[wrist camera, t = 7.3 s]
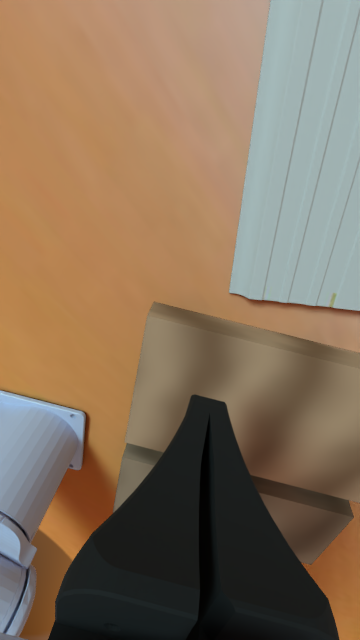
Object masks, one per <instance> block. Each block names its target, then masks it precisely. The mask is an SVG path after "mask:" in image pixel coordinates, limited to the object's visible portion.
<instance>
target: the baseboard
mask: <svg viewBox="0 0 360 640" xmlns="http://www.w3.org/2000/svg"><path fill="white" fill-rule="evenodd" d="M229 293H235V294H240V295H242V296H245V297H247V298H248V299H255V300H270V301H279V302H283V303H288V302H289V303H298V304H306V305H311V306H326V307H333V308H338V309H348V310H357V311H360V0H271V1H270V8H269V15H268V22H267V29H266V36H265V43H264V50H263V57H262V64H261V71H260V78H259V85H258V92H257V99H256V106H255V113H254V120H253V127H252V134H251V141H250V148H249V155H248V162H247V169H246V176H245V183H244V190H243V197H242V204H241V211H240V218H239V225H238V232H237V239H236V246H235V253H234V260H233V267H232V274H231V282H230V289H229Z"/></svg>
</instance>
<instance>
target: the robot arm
mask: <svg viewBox="0 0 360 640" xmlns="http://www.w3.org/2000/svg"><path fill="white" fill-rule="evenodd" d="M85 422H86V415H85V413H84V412H82V411H79V410H75V409H71V408H67V407H63V406H59V405H55V404H52V403H48V402H44V401H40V400H36V399H32V398H28V397H24V396H20V395H17V394H13V393H9V392H5V391H1V390H0V640H27V639H23V638H20V637H19V635H20V633H21V631H22V629H23V627H24V625H25V623H26V621H27V618H28V616H29V613H30V610H31V608H32V604H33V601H34V597H35V591H36V570H35V568H34V566H32V565H31V561H32V559H33V557H34V555H35V553H36V551H37V548H35V547H34V546H33V545H32V544H31V542H32V540H33V538H34V535H35V533H36V532H37V529H38V527H39V525H40V523H41V521H42V519H43V517H44V515H45V513H46V511H47V509H48V507H49V505H50V503H51V501H52V499H53V497H54V495H55V493H56V491H57V489H58V487H59V485H60V483H61V481H62V479H63V477H64V475H65V473H66V471H67V469H68V468H70V469H74V470H80V469H81V467H82V462H83V448H84V435H85ZM55 604H56V605H55V622H54V625H53V628H52V631H51V633H50V636H49V639H48V640H339V636H338V631H337V627H336V624H335V620H334V617H333V613H332V610H331V607H330V604H329V600H328V598H327V597H326V596H325V594H324V593H323V592H322V590H321V589H320V588H319V587H318V585H317V584H316V583H315V581H314V580H313V579H312V577H311V576H310V575H309V573H308V572H307V571H306V569H305V568H304V566H303V565H302V564H301V562H300V561H299V559H298V558H297V556H296V555H295V553H294V552H293V550H292V549H291V547H290V546H289V544H288V543H287V541H286V539H285V538H284V536H283V535H282V533H281V531H280V530H279V528H278V526H277V525H276V523H275V522H274V520H273V518H272V517H271V515H270V513H269V511H268V509H267V508H266V506H265V504H264V502H263V500H262V498H261V496H260V494H259V492H258V490H257V488H256V486H255V484H254V482H253V480H252V478H251V475H250V473H249V471H248V468H247V466H246V464H245V461H244V459H243V456H242V454H241V451H240V448H239V445H238V443H237V440H236V437H235V434H234V431H233V428H232V424H231V421H230V417H229V413H228V409H227V405H226V403H225V402H223V401H219V400H215V399H211V398H207V397H203V396H199V395H195V394H194V395H192V396H191V398H190V401H189V404H188V407H187V411H186V414H185V417H184V419H183V421H182V423H181V425H180V427H179V428H178V430H177V432H176V434H175V436H174V437H173V439H172V441H171V442H170V444H169V445H168V447H167V449H166V450H165V452H164V453H163V455H162V456H161V457H160V459H159V460H158V462H157V463H156V464H155V466H154V467H153V468H152V470H151V471H150V472H149V474H148V475H147V476H146V477H145V479H144V480H143V481H142V482H141V484H140V485H139V486H138V487H137V488H136V489H135V491H134V492H133V493H132V494H131V495H130V496H129V497H128V498H127V499H126V500H125V501H124V502H123V504H122V505H121V506H120V507H119V508H118V509H117V510H116V511H115V512H114V513H113V514H112V515H111V516H110V517H109V518H108V519H107V520H106V521H105V522H104V523H103V524H102V525H101V526H99V527H98V528H97V529H96V530H95V531H94V532H93V533H92V534H91V536H90V537H89V539H88V540H87V542H86V543H85V544H84V546H83V547H82V548H81V550H80V551H79V553H78V554H77V556H76V557H75V559H74V560H73V562H72V564H71V565H70V567H69V568H68V570H67V572H66V574H65V576H64V579H63V581H62V584H61V587H60V590H59V593H58V595H57V598H56V601H55Z"/></svg>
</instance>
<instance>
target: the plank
mask: <svg viewBox="0 0 360 640" xmlns="http://www.w3.org/2000/svg"><path fill="white" fill-rule="evenodd" d="M194 394H195V395H199V396H203V397H207V398H211V399H215V400H219V401H223V402H225V403H226V405H227V409H228V413H229V417H230V421H231V424H232V428H233V431H234V434H235V437H236V440H237V443H238V445H239V448H240V451H241V454H242V456H243V459H244V461H245V464H246V466H247V468H248V471H249V473H250V475H253V476H257V477H261V478H265V479H269V480H272V481H276V482H280V483H284V484H288V485H292V486H296V487H299V488H303V489H307V490H311V491H315V492H319V493H323V494H327V495H330V496H334V497H338V498H342V499H346V500H350V501H354V502H357V503H360V353H357V352H353V351H349V350H345V349H341V348H337V347H333V346H329V345H325V344H321V343H317V342H313V341H309V340H305V339H301V338H297V337H293V336H289V335H285V334H281V333H277V332H273V331H269V330H265V329H261V328H257V327H253V326H249V325H245V324H241V323H237V322H233V321H229V320H225V319H221V318H217V317H213V316H209V315H205V314H201V313H197V312H193V311H189V310H185V309H181V308H177V307H173V306H169V305H165V304H161V303H157V302H154V303H153V305H152V307H151V309H150V311H149V313H148V315H147V320H146V326H145V331H144V337H143V343H142V348H141V354H140V359H139V365H138V371H137V376H136V382H135V387H134V393H133V399H132V404H131V410H130V415H129V421H128V427H127V432H126V438H125V443H129V444H133V445H137V446H141V447H145V448H149V449H152V450H156V451H160V452H165V450H166V449H167V447H168V445H169V444H170V442H171V441H172V439H173V437H174V436H175V434H176V432H177V430H178V428H179V427H180V425H181V423H182V421H183V419H184V417H185V414H186V411H187V407H188V404H189V401H190V398H191V396H192V395H194Z"/></svg>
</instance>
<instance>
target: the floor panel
mask: <svg viewBox="0 0 360 640" xmlns="http://www.w3.org/2000/svg"><path fill="white" fill-rule="evenodd" d="M163 453H164V452H160V451H156V450H152V449H149V448H145V447H141V446H137V445H133V444H129V443H127V445H126V448H125V451H124V454H123V457H122V462H121V468H120V474H119V480H118V485H117V491H116V497H115V502H114V508H113V513H114V512H115V511H116V510H117V509H118V508H119V507H120V506H121V505H122V504H123V502H124V501H125V500H126V499H127V498H128V497H129V496H130V495H131V494H132V493H133V492H134V491H135V489H136V488H137V487H138V486H139V485H140V484H141V482H142V481H143V480H144V479H145V477H146V476H147V475H148V474H149V472H150V471H151V470H152V468H153V467H154V466H155V464H156V463H157V462H158V460H159V459H160V457H161V456H162V455H163ZM251 478H252V480H253V482H254V484H255V486H256V488H257V490H258V492H259V494H260V496H261V498H262V500H263V502H264V504H265V506H266V508H267V509H268V511H269V513H270V515H271V517H272V518H273V520H274V522H275V523H276V525H277V526H278V528H279V530H280V531H281V533H282V535H283V536H284V538H285V539H286V541H287V543H288V544H289V546H290V547H291V549H292V550H293V552H294V553H295V555H296V556H297V558H298V559H299V561H300V562H302V563H306V564H310V565H311V564H312V563H313V562H314V561H315V560H316V559H317V558H318V557H319V556H320V554H321V553H322V552H323V551H324V550H325V549H326V548H327V547H328V546H329V544H330V543H331V542H332V541H333V540H334V539H335V538H336V537H337V536H338V534H339V533H340V532H341V531H342V530H343V529H344V528H345V527H346V526H347V525H348V523H349V522H350V521H351V520H352V519H353V518H354V516H353V513H352V510H351V507H350V504H349V500H346V499H342V498H338V497H334V496H330V495H327V494H323V493H319V492H315V491H311V490H307V489H303V488H299V487H296V486H292V485H288V484H284V483H280V482H276V481H272V480H269V479H265V478H261V477H257V476H253V475H251Z"/></svg>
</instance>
